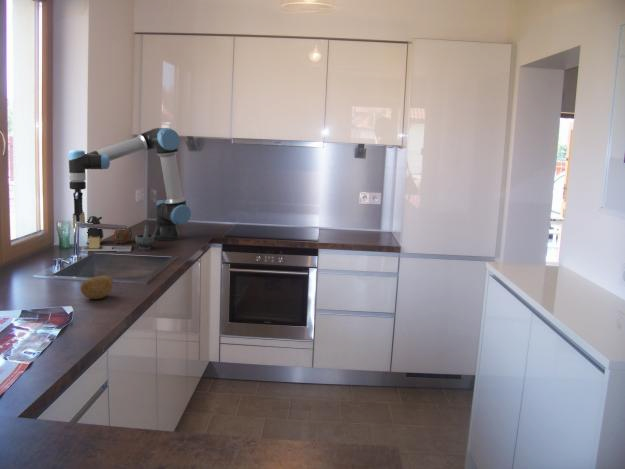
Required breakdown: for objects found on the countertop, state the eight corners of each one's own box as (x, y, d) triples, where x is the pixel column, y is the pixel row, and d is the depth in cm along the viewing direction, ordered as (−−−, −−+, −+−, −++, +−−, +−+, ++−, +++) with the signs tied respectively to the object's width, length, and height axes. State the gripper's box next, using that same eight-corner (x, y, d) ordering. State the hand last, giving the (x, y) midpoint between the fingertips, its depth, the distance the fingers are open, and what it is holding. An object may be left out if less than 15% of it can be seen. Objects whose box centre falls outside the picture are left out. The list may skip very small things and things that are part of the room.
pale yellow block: (100, 249, 290) (99, 235, 289) (99, 251, 285) (99, 237, 284) (89, 249, 289) (89, 236, 288) (88, 251, 284) (88, 237, 283)
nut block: (85, 226, 286) (84, 213, 285) (83, 228, 282) (83, 214, 281) (74, 226, 285) (74, 213, 284) (73, 228, 280) (72, 214, 279)
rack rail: (131, 248, 296) (131, 245, 296) (130, 251, 288) (130, 249, 288) (83, 248, 290) (82, 246, 289) (81, 251, 281) (81, 249, 281)
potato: (120, 294, 208) (120, 273, 207) (98, 304, 195) (98, 282, 194) (97, 291, 210) (97, 271, 209) (74, 301, 197) (73, 279, 196)
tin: (118, 244, 304) (118, 229, 303) (113, 244, 305) (112, 229, 303) (132, 240, 319) (132, 226, 317) (127, 240, 319) (127, 225, 318)
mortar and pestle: (151, 250, 292) (151, 228, 290) (133, 250, 291) (133, 227, 289) (156, 246, 303) (156, 225, 301) (138, 246, 302) (138, 224, 300)
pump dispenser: (107, 243, 306) (107, 216, 304) (90, 245, 297) (90, 217, 295) (96, 241, 312) (96, 214, 309) (79, 243, 303) (79, 215, 301)
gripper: (72, 179, 287) (73, 224, 291) (66, 182, 270) (68, 229, 274) (87, 179, 289) (88, 224, 293) (83, 182, 272) (84, 229, 276)
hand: (79, 226), depth 283 cm, fingers closed on nut block, 5 cm apart
